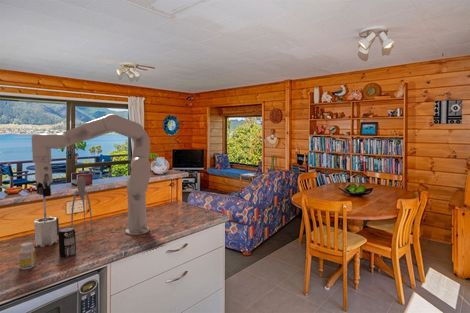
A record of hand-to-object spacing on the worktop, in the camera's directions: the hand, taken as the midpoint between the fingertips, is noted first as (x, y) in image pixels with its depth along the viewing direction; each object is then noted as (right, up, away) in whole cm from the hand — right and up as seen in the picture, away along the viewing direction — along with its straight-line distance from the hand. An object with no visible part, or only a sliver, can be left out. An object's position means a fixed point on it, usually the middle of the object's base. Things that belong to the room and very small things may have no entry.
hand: (44, 194), depth 141 cm
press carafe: (0, -24, +3) cm, 24 cm away
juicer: (+7, -23, +25) cm, 34 cm away
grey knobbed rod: (0, -14, +1) cm, 14 cm away
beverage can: (+18, -26, -11) cm, 33 cm away
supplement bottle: (+8, -27, -22) cm, 36 cm away
